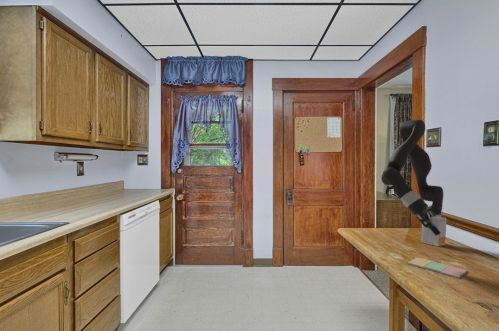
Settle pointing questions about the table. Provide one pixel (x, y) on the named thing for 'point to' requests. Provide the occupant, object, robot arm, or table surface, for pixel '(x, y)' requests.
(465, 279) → the table surface
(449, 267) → the multicoloured flat board
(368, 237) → the table surface
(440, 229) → the skincare box
